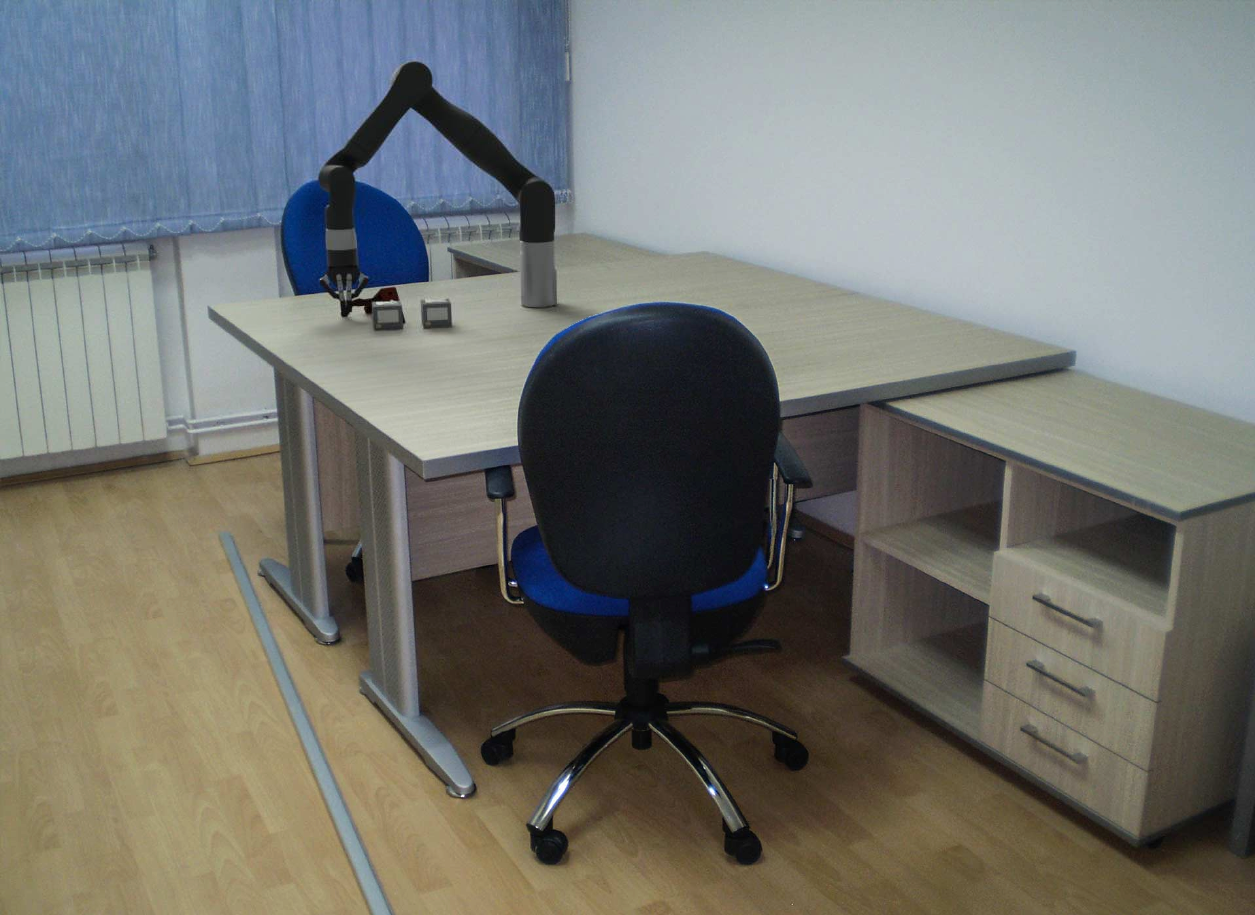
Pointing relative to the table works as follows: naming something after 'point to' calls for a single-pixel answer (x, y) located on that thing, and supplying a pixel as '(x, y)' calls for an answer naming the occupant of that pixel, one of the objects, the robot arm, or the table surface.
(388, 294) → the bracket
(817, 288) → the table surface
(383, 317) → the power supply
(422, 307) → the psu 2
